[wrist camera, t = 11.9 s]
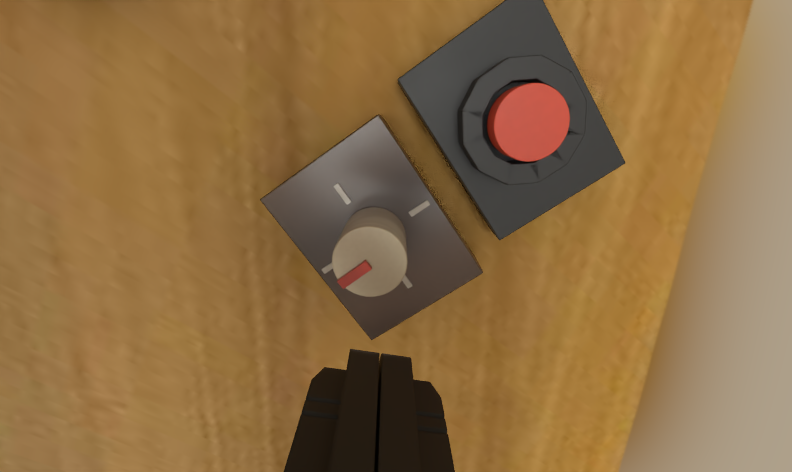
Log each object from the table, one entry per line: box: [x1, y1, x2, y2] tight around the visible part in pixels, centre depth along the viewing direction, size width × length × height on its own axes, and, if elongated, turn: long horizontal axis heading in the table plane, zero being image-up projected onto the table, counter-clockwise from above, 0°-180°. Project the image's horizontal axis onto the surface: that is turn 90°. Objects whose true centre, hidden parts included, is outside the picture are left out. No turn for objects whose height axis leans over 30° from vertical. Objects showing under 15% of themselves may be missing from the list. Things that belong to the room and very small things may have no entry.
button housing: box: [398, 0, 625, 240], centre depth 24 cm, size 12×9×4 cm
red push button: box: [487, 83, 570, 162], centre depth 22 cm, size 4×4×2 cm
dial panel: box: [260, 115, 483, 340], centre depth 26 cm, size 12×9×3 cm
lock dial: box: [332, 207, 408, 297], centre depth 23 cm, size 4×4×5 cm
